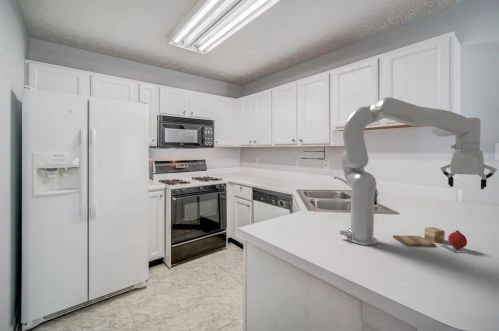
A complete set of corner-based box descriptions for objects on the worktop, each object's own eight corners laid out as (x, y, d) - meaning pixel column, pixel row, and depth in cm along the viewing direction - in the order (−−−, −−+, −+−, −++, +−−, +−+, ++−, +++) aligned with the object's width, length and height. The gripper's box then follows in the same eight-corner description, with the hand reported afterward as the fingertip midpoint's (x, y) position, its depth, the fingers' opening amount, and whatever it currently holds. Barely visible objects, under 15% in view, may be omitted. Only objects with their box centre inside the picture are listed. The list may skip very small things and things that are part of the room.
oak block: (434, 242, 101) (434, 231, 101) (424, 238, 106) (424, 227, 106) (444, 241, 102) (444, 230, 102) (434, 237, 107) (434, 227, 107)
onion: (447, 245, 98) (448, 227, 98) (466, 248, 95) (466, 229, 94) (448, 249, 94) (448, 230, 93) (467, 253, 90) (468, 233, 90)
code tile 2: (432, 242, 101) (432, 242, 101) (422, 238, 107) (422, 237, 107) (446, 243, 101) (446, 242, 101) (436, 238, 107) (436, 237, 107)
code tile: (454, 253, 90) (454, 253, 90) (439, 245, 98) (439, 245, 98) (476, 254, 90) (476, 253, 90) (459, 246, 98) (459, 245, 98)
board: (406, 246, 97) (406, 243, 97) (393, 237, 107) (393, 235, 107) (435, 247, 97) (435, 244, 97) (419, 238, 107) (419, 235, 106)
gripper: (439, 148, 101) (438, 186, 102) (496, 146, 87) (495, 191, 88) (443, 148, 106) (442, 185, 106) (498, 146, 92) (497, 188, 93)
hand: (466, 187), depth 97 cm, fingers open, 9 cm apart
